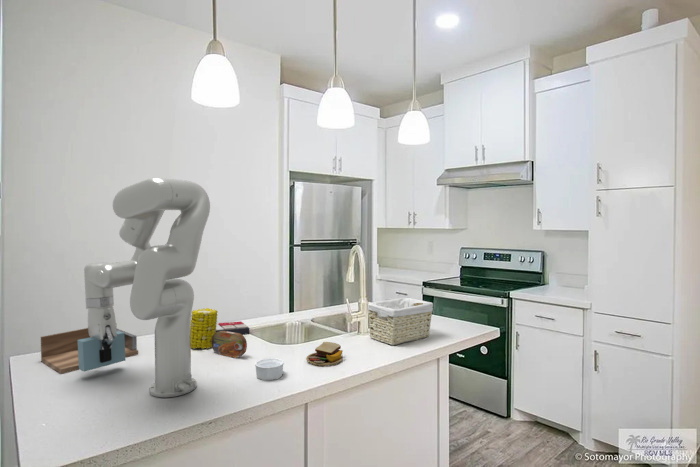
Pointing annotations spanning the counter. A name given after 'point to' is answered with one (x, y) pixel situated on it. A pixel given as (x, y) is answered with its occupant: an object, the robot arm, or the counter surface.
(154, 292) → the robot arm
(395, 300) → the storage basket
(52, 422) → the counter surface
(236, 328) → the red white box
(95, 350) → the book
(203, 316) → the food
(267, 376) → the ramekin
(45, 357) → the shelf
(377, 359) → the counter surface
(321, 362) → the toy sandwich meal
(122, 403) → the counter surface
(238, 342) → the tin
